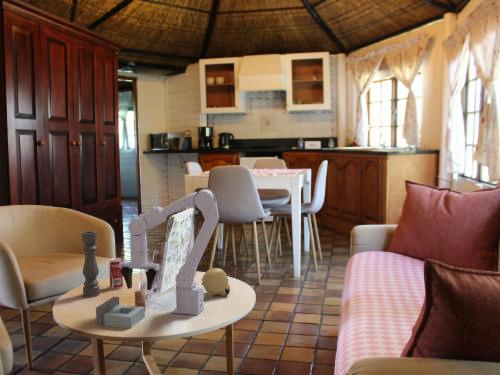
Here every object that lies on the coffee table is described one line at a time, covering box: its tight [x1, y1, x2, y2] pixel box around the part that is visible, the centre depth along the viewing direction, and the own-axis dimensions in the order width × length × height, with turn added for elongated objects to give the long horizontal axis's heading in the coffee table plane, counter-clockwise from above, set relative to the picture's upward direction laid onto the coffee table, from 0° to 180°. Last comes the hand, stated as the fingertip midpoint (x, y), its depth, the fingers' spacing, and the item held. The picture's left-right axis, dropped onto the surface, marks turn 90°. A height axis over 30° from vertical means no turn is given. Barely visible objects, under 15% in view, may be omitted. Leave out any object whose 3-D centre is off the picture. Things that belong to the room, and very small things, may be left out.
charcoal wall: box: [95, 296, 120, 327], centre depth 167 cm, size 2×12×6 cm, turn 167°
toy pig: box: [201, 267, 231, 297], centre depth 194 cm, size 10×12×11 cm
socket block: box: [103, 304, 146, 329], centre depth 165 cm, size 10×10×4 cm
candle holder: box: [81, 230, 101, 298], centre depth 193 cm, size 6×6×25 cm
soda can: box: [108, 257, 124, 290], centre depth 203 cm, size 5×5×12 cm
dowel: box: [134, 290, 146, 308], centre depth 175 cm, size 4×4×7 cm
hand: (139, 288), depth 175 cm, fingers open, 7 cm apart
